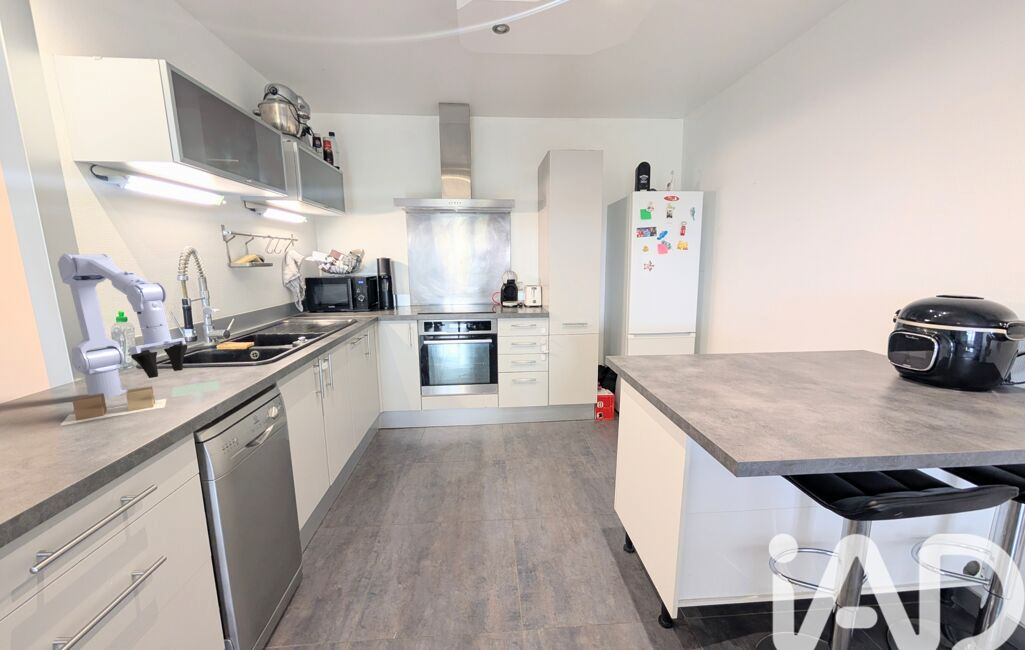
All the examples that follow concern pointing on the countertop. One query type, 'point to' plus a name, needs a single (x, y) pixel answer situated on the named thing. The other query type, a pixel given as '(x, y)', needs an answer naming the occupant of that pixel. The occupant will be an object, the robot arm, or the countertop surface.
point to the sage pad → (195, 388)
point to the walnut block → (89, 406)
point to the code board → (114, 412)
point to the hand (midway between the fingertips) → (166, 373)
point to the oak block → (140, 398)
